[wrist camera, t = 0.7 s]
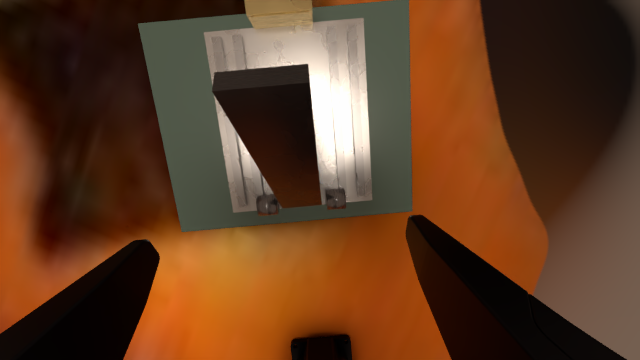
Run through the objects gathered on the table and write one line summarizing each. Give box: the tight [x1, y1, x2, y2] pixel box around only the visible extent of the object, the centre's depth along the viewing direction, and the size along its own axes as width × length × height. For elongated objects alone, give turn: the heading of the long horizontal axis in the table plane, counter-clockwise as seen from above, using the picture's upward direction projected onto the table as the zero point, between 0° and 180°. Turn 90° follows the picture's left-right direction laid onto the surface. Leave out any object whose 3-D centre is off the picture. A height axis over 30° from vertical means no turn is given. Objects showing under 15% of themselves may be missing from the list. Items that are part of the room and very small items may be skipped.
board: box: [138, 0, 412, 232], centre depth 22 cm, size 18×22×1 cm
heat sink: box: [204, 0, 372, 216], centre depth 18 cm, size 15×11×6 cm
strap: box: [212, 64, 322, 208], centre depth 13 cm, size 12×3×1 cm
